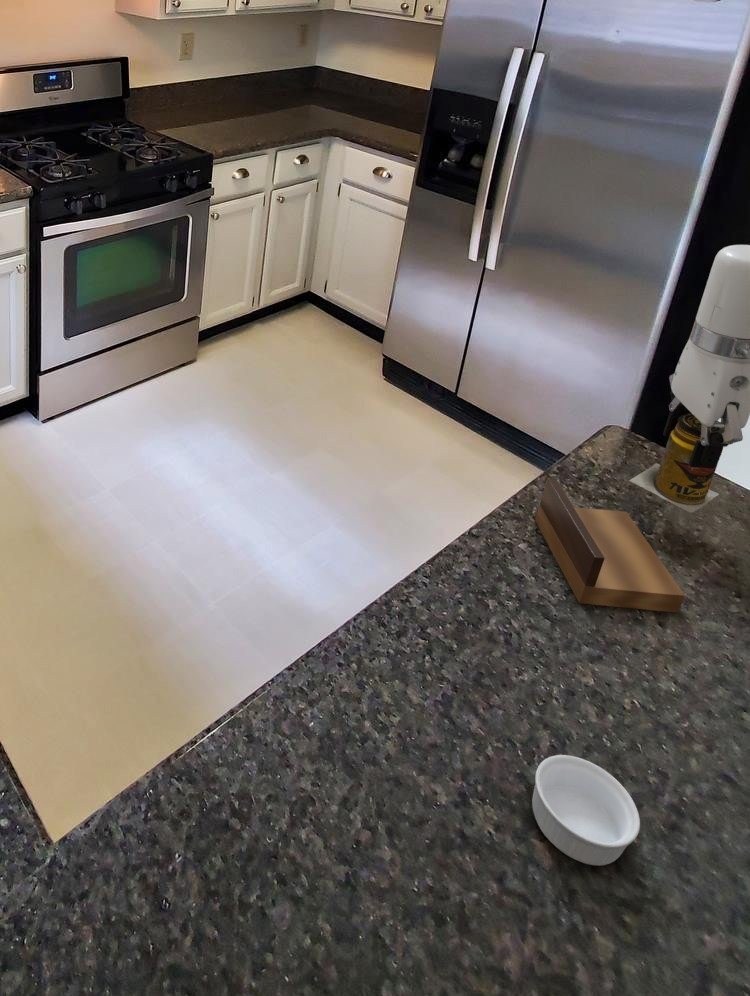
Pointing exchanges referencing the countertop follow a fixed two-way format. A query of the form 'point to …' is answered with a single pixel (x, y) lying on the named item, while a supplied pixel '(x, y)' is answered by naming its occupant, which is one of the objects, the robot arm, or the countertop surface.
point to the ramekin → (583, 810)
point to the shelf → (604, 555)
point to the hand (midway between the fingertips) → (688, 450)
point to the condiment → (680, 469)
